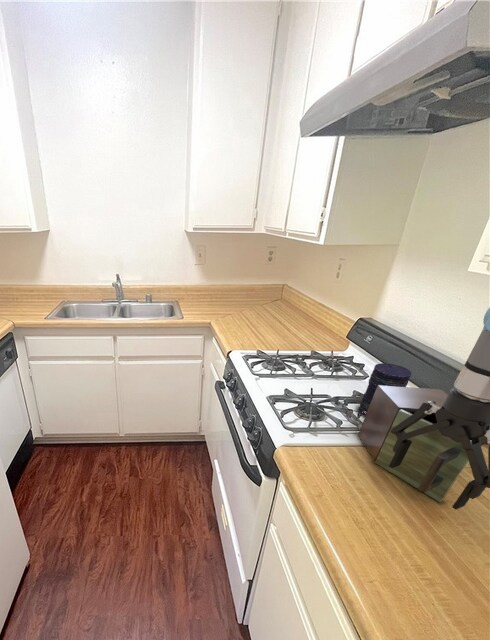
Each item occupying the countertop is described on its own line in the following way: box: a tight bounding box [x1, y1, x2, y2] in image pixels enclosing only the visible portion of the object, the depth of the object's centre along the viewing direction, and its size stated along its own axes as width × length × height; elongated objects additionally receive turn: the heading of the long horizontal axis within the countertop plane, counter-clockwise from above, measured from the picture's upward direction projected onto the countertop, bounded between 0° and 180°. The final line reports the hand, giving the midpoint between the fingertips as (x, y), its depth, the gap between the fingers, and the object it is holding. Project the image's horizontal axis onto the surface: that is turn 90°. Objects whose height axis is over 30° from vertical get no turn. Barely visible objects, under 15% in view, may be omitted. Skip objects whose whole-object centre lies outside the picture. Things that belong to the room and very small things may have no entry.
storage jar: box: [357, 362, 413, 418], centre depth 106 cm, size 10×10×15 cm
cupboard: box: [357, 385, 448, 462], centre depth 89 cm, size 12×16×16 cm
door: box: [374, 409, 469, 503], centre depth 77 cm, size 7×16×16 cm, turn 29°
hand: (423, 484), depth 72 cm, fingers open, 13 cm apart
